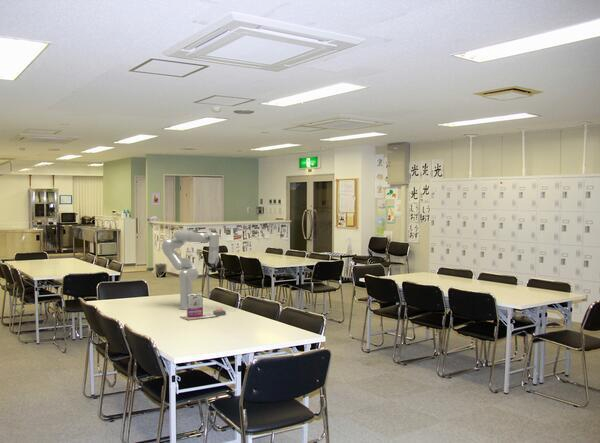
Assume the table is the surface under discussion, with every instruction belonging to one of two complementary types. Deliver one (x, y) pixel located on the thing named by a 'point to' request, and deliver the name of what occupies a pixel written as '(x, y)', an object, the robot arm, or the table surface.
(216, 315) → the button housing
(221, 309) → the button
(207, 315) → the clipboard
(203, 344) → the table surface
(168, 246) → the robot arm
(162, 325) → the table surface
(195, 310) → the candy bar box
